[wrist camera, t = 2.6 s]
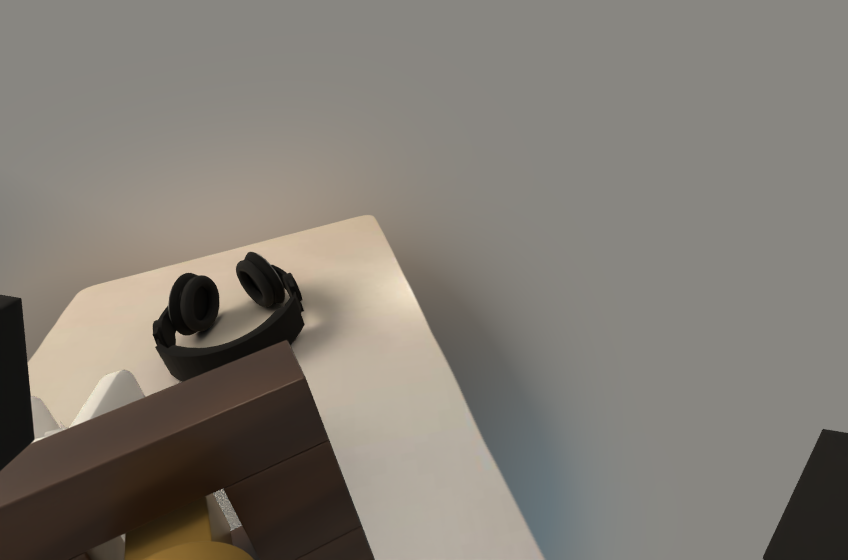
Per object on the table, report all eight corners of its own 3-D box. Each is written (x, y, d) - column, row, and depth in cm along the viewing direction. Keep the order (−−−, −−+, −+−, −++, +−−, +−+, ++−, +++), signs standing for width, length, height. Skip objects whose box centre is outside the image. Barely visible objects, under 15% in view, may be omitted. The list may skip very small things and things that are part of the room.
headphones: (275, 231, 82) (306, 303, 65) (293, 278, 86) (326, 356, 70) (143, 276, 78) (141, 364, 61) (169, 323, 82) (173, 417, 66)
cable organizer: (129, 608, 42) (48, 492, 37) (-16, 644, 42) (-117, 533, 37) (182, 459, 56) (128, 359, 51) (73, 487, 56) (7, 389, 51)
